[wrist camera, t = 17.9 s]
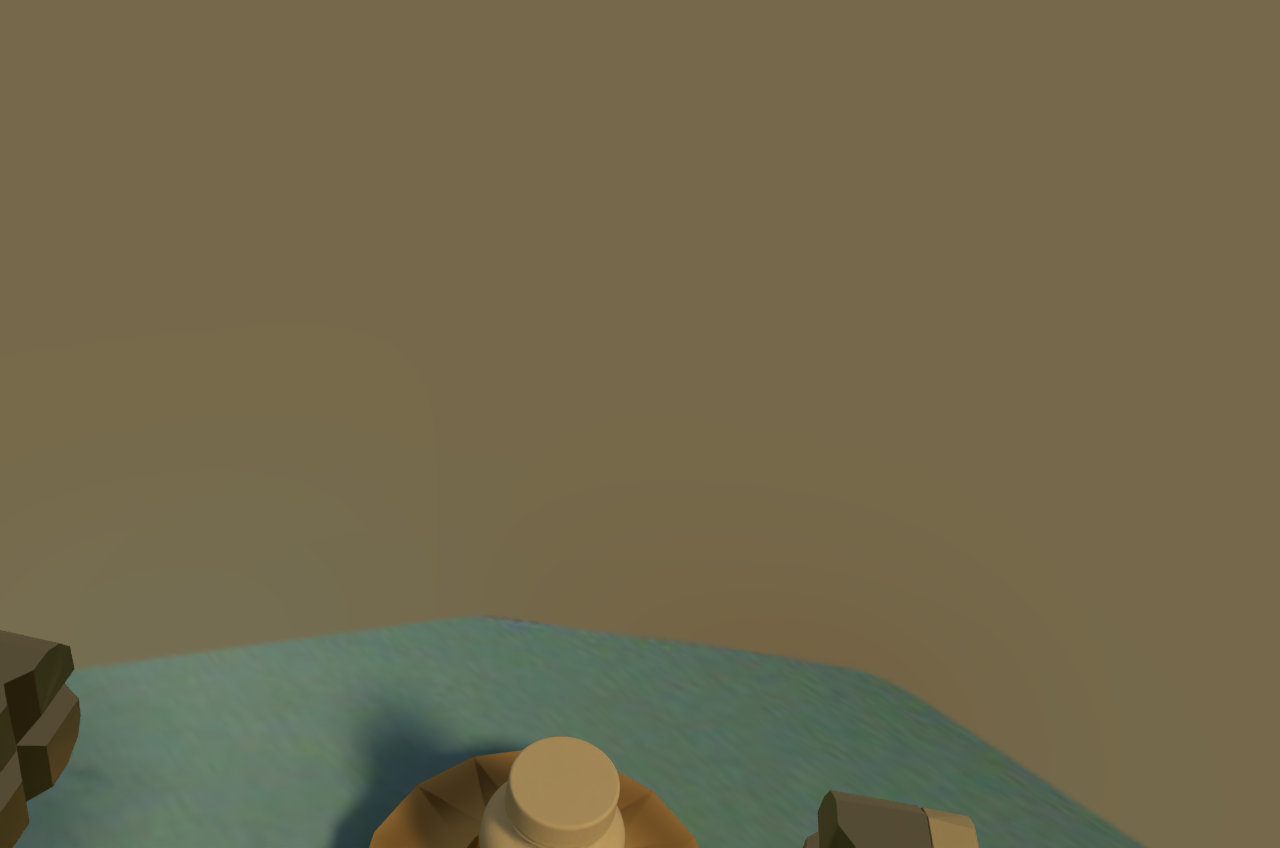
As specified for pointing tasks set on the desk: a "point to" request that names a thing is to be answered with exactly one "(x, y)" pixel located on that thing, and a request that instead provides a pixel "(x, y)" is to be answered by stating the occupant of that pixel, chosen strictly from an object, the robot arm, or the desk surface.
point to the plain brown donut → (456, 798)
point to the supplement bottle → (556, 800)
